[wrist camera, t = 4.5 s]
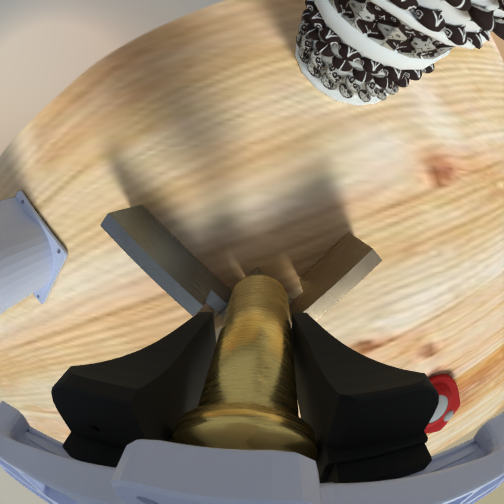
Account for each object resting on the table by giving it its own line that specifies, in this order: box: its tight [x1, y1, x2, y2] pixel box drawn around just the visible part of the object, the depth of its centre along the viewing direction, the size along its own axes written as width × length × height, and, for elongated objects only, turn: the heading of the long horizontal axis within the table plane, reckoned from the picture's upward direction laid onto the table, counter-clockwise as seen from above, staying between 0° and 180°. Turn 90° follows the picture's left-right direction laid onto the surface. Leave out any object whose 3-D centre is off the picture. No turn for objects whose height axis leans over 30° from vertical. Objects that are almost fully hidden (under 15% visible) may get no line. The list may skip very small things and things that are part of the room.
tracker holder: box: [424, 374, 460, 434], centre depth 23 cm, size 12×4×10 cm
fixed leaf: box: [101, 205, 292, 318], centre depth 18 cm, size 16×7×5 cm, turn 45°
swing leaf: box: [214, 233, 382, 343], centre depth 18 cm, size 13×7×5 cm, turn 135°
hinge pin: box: [170, 275, 318, 463], centre depth 9 cm, size 4×4×9 cm
